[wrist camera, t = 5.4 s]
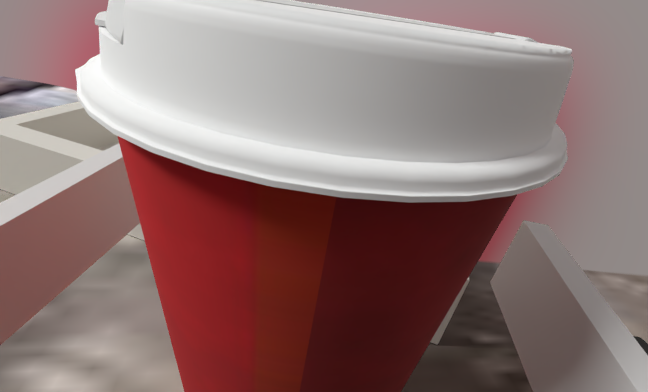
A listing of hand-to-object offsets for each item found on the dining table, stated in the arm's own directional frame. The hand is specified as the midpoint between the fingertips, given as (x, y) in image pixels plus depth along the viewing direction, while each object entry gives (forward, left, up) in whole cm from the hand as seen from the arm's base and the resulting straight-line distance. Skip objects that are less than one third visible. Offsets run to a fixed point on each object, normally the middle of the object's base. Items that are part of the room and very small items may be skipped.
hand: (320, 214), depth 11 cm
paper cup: (-3, +2, -8) cm, 9 cm away
